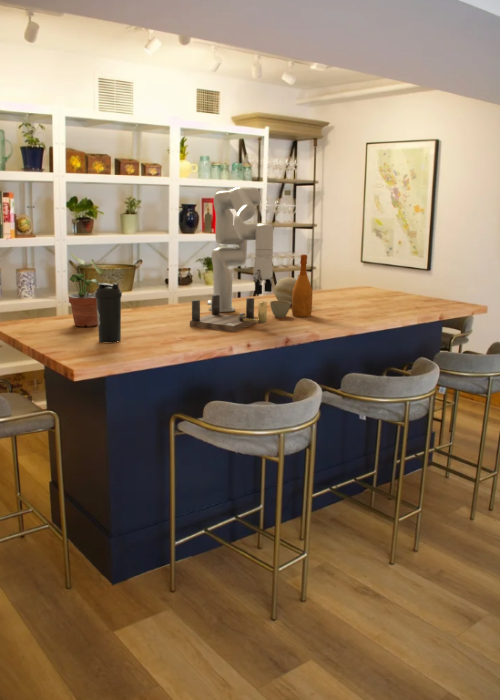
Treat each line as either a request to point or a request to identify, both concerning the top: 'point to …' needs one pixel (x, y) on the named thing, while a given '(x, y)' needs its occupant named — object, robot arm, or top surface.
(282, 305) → the flower pot
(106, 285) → the water bottle
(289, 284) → the decorative ball
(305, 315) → the wine bottle
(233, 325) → the stool seat
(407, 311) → the top surface
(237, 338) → the top surface
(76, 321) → the potted plant
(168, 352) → the top surface
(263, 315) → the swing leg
